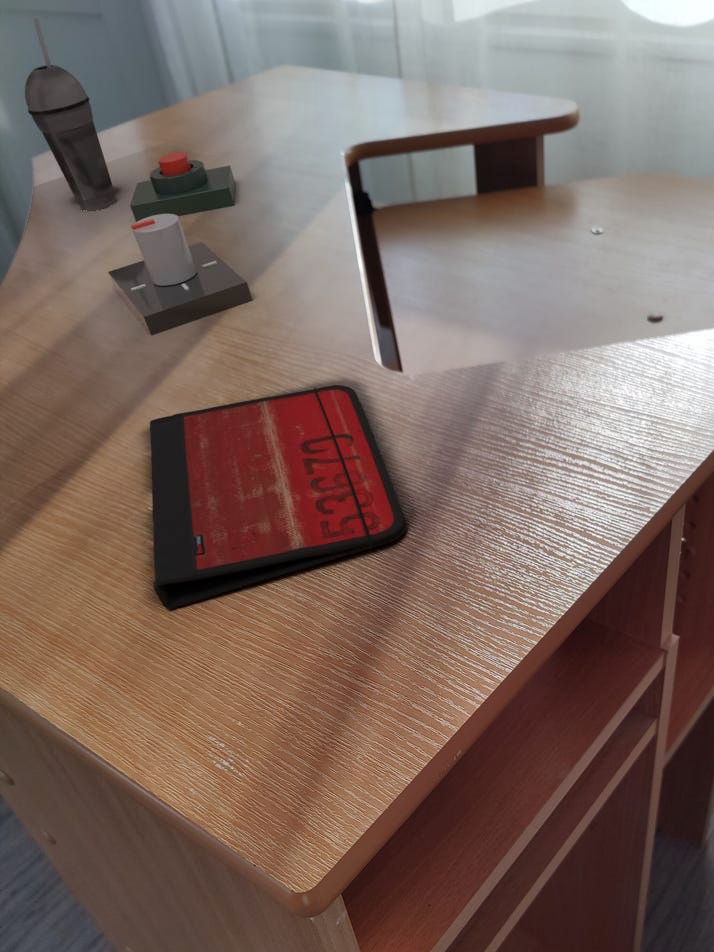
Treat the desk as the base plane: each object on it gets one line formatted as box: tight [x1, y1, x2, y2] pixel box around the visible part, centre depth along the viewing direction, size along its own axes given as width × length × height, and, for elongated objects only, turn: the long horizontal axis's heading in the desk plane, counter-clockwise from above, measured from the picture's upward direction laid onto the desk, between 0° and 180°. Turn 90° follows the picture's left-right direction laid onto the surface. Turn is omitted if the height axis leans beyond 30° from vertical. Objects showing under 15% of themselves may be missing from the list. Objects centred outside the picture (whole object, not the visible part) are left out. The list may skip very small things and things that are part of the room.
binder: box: [149, 384, 408, 610], centre depth 61 cm, size 16×2×21 cm
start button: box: [157, 151, 192, 175], centre depth 106 cm, size 4×4×2 cm
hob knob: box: [130, 214, 197, 286], centre depth 82 cm, size 4×4×5 cm
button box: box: [129, 159, 236, 223], centre depth 108 cm, size 12×9×4 cm
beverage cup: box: [24, 17, 117, 212], centre depth 106 cm, size 7×7×20 cm
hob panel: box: [107, 241, 254, 337], centre depth 85 cm, size 14×10×3 cm
